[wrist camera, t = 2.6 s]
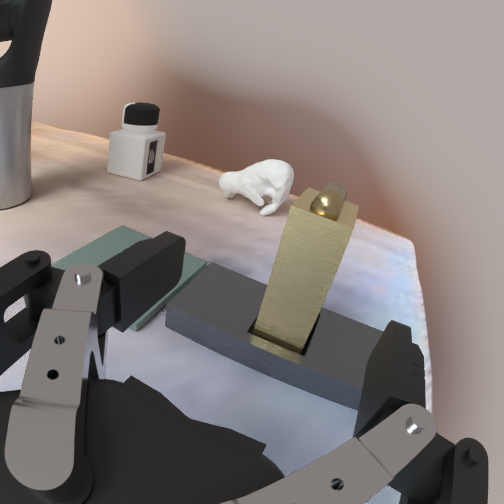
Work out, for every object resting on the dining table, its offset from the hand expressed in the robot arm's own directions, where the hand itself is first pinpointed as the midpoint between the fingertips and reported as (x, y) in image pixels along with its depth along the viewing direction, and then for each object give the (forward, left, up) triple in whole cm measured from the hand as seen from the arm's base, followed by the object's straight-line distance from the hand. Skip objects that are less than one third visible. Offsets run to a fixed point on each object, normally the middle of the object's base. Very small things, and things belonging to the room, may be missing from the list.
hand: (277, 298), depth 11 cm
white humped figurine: (-39, +11, -13) cm, 43 cm away
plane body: (-9, +6, -13) cm, 17 cm away
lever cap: (-9, +7, -13) cm, 17 cm away
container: (-50, -9, -13) cm, 53 cm away
